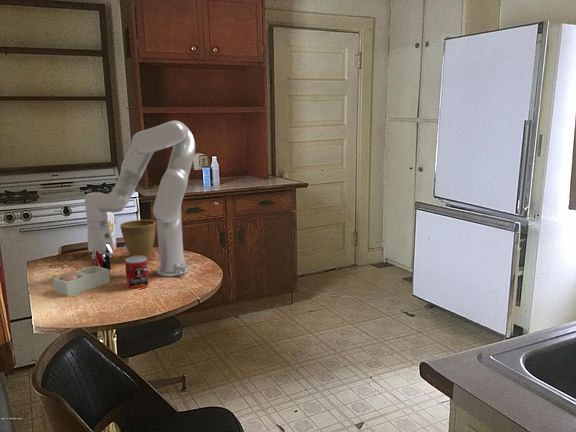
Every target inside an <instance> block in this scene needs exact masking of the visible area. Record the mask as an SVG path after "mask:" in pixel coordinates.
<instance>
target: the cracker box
mask: <svg viewBox="0 0 576 432" xmlns="http://www.w3.org/2000/svg"><path fill="white" fill-rule="evenodd" d="M107 218H108V228H109V229H110V232H111V236H112V241H113V249H114V251H113V253H115V252H116V251H117V241H116V240H117V237H116V226H115V212H107Z"/></svg>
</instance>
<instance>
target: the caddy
mask: <svg viewBox="0 0 576 432" xmlns="http://www.w3.org/2000/svg"><path fill="white" fill-rule="evenodd" d="M109 271H110V270H109V269H105V268H101V267H98V266H94V265H93V266H89V267H86V268H83V269H79V270H76V271H75V272H76V273H78V278H77V279H74V280H71V281H64V280H62V275H60V276H57V277H54V278H52V283H53V289H54V290H53V292H54V293H56V294H60V295H62V296H67V297H71V296H74V295H77V294H80V293H82V292H85V291H89V290H91V289H95V288H97V287H100V286H103V285H105V284H108V283H111V280H110V274H109Z"/></svg>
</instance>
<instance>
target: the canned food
mask: <svg viewBox="0 0 576 432" xmlns="http://www.w3.org/2000/svg"><path fill="white" fill-rule="evenodd" d="M147 260H148V259H147V258H146V257H145V256H141V255H137V256H128V257H126V258H125V259H124V265H125V276H126V285H127V286H126V287H127V288H128V289H132V290H134V289H135V290H138V291H142V290H145V289H147V288H148V286H149V282H150V281H149V272H148V261H147Z"/></svg>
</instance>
